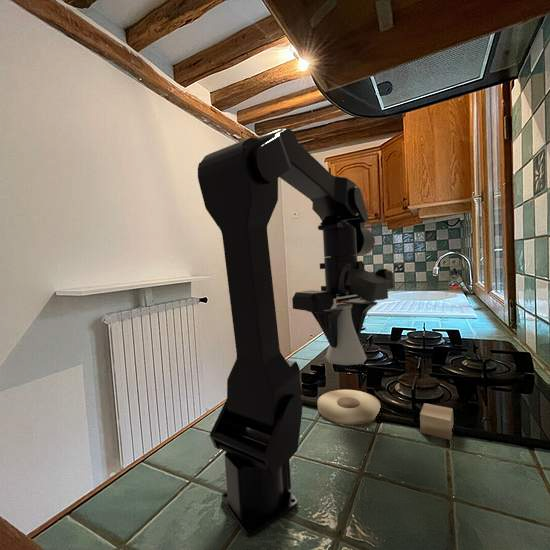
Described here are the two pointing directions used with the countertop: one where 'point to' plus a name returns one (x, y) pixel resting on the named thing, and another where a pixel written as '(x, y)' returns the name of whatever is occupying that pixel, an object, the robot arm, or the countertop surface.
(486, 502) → the countertop surface
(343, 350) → the flask
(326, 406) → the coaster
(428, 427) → the cork block
